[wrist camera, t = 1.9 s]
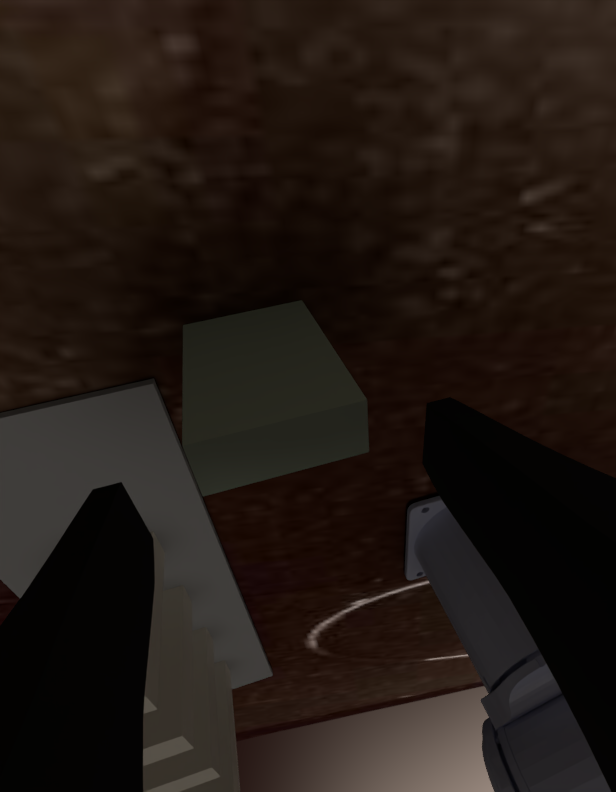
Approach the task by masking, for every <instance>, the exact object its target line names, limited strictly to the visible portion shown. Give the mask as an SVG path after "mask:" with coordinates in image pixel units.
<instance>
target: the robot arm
mask: <svg viewBox="0 0 616 792" xmlns="http://www.w3.org/2000/svg"><path fill="white" fill-rule="evenodd" d="M423 465H424V467H425V469H426V471H427V473H428V475H429V477H430V479H431V481H432V483H433V485H434V487H435V489H436V490H437V492H438V494H439V496H436V497H433V498H429V499H426V500H422V501H419V502H416V503H413V504H411V505H410V506H409V507H408V510H407V529H406V552H405V576H406V578H407V579H408V580H414V579H417V578H420V577H423V576H427V578H428V580H429V582H430V584H431V586H432V588H433V590H434V591H435V593H436V595H437V597H438V599H439V601H440V603H441V605H442V607H443V608H444V610H445V612H446V614H447V616H448V618H449V620H450V622H451V624H452V625H453V627H454V629H455V631H456V633H457V635H458V637H459V639H460V640H461V642H462V644H463V646H464V648H465V650H466V652H467V654H468V656H469V657H470V659H471V661H472V663H473V665H474V667H475V669H476V671H477V673H478V674H479V676H480V678H481V680H482V682H483V684H484V686H485V687H486V689H487V691H488V693H489V694H488V695H487V696H485V697H484V698H482V699H481V702H482V704H483V706H484V708H485V710H486V712H487V714H488V716H489V718H488V719H486V720H485V721H484V723H483V729H482V734H483V741H482V751H483V757H484V762H485V765H486V769H487V772H488V775H489V778H490V781H491V784H492V787H493V789H494V791H495V792H616V478H614V477H611V476H609V475H607V474H604V473H602V472H600V471H597V470H595V469H593V468H590V467H588V466H586V465H584V464H582V463H579V462H577V461H575V460H573V459H571V458H568V457H566V456H564V455H562V454H560V453H558V452H556V451H554V450H551V449H549V448H547V447H545V446H543V445H541V444H539V443H537V442H535V441H533V440H531V439H529V438H527V437H525V436H523V435H521V434H519V433H518V432H516V431H514V430H512V429H510V428H508V427H506V426H504V425H502V424H500V423H499V422H497V421H495V420H493V419H491V418H489V417H487V416H485V415H484V414H482V413H480V412H478V411H476V410H474V409H472V408H470V407H468V406H466V405H465V404H463V403H461V402H459V401H457V400H455V399H452V398H450V397H449V398H446V399H442V400H438V401H434V402H430V403H427V408H426V422H425V436H424V449H423ZM154 587H155V566H154V542H153V537H152V535H151V533H150V532H149V530H148V528H147V526H146V525H145V523H144V521H143V519H142V517H141V516H140V514H139V512H138V510H137V509H136V507H135V505H134V503H133V501H132V500H131V498H130V496H129V494H128V493H127V491H126V489H125V487H124V486H123V484H122V482H119V483H116V484H112V485H108V486H104V487H100V488H96V489H93V490H92V491H91V493H90V494H89V496H88V497H87V499H86V500H85V502H84V503H83V505H82V506H81V508H80V509H79V511H78V512H77V514H76V515H75V517H74V519H73V520H72V522H71V523H70V525H69V526H68V528H67V529H66V531H65V533H64V534H63V536H62V537H61V539H60V540H59V542H58V543H57V545H56V546H55V548H54V550H53V551H52V553H51V554H50V556H49V557H48V559H47V560H46V562H45V563H44V565H43V566H42V567H41V569H40V570H39V572H38V573H37V575H36V576H35V578H34V579H33V581H32V582H31V584H30V585H29V587H28V588H27V590H26V591H25V593H24V594H23V596H22V597H21V598H20V600H19V601H18V602H17V604H16V605H15V607H14V608H13V609H12V611H11V612H10V613H9V615H8V616H7V618H6V619H5V620H4V622H3V623H2V625H1V626H0V792H143V714H144V696H145V685H146V674H147V664H148V653H149V643H150V632H151V622H152V610H153V599H154Z"/></svg>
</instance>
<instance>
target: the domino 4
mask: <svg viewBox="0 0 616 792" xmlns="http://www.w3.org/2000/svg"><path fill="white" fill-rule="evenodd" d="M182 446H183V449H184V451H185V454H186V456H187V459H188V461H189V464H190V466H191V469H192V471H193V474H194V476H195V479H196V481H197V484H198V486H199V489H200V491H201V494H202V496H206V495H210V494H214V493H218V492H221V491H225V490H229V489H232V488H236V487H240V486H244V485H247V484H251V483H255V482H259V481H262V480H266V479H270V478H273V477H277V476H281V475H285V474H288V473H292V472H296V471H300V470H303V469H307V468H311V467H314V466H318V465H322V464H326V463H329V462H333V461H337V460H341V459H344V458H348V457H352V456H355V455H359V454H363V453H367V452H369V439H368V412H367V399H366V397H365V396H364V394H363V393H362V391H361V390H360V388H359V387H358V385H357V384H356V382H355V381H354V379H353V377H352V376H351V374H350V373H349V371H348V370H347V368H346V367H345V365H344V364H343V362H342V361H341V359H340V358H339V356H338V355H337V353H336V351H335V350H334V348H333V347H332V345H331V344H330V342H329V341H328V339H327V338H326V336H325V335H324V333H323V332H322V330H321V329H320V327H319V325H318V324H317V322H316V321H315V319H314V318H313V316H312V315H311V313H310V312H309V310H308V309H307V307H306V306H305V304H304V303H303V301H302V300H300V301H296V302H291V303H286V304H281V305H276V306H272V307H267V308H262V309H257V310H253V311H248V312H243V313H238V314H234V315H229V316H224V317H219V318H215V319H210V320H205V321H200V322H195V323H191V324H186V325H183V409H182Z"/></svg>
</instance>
